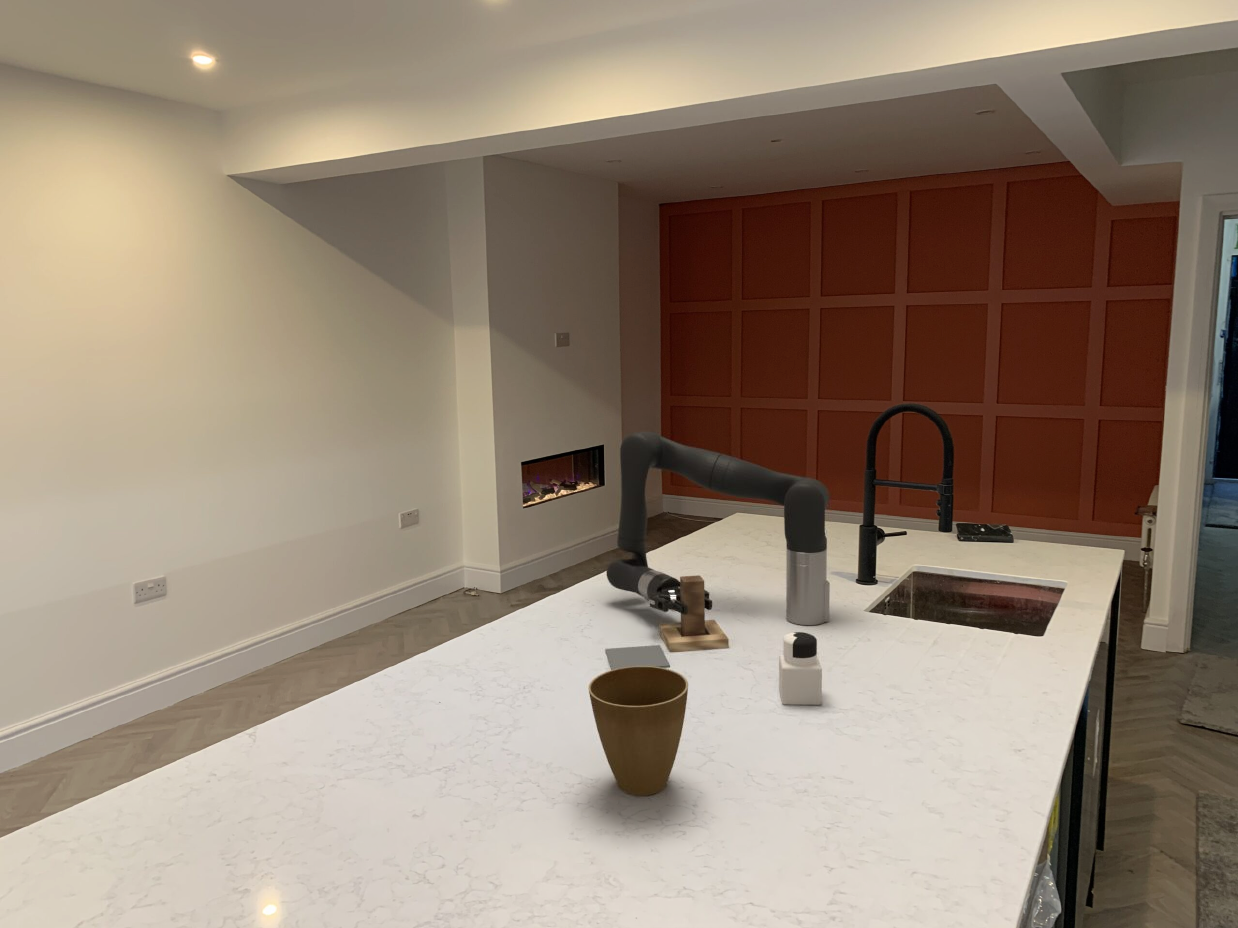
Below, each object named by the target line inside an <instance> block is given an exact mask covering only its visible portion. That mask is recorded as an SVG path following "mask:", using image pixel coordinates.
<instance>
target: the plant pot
mask: <svg viewBox="0 0 1238 928" xmlns="http://www.w3.org/2000/svg"><path fill="white" fill-rule="evenodd" d="M688 691H689V681H688V679H687V678H686V677H685V676H684V674H683V675H682V674H681V673H679V672H678V671H675V670H674V669H669V668H667V667H666V668H661V667H654V666H631V667H623V668H618V669H614V670H611V669H610V670H608V671H605V672H603V673H601V674H599V675H597V676H596V677H594V678H593V679H592V680H591V681H590V683H589V684H588V693H589V694H588V695H589V698H590V704H591V708H592V709H591V710H592V713H593V718H594V721H595V726H596V728H597V729H596V730H597V732H598V737H599V740H600V742H601V746H602V749H603V753H604V754H605V757H606V760H607V762H608V765H609V768H610V770H611V773H612V775H613V777H614V779H615V781H616V784H617V786H618V788H619V789H620V790H621V791H622V792H623V793H626V794H628V795H631V796H635V797H636V796H639V797H641V796H642V797H646V796H651V795H655V794H658V793H660V792H662V791H663V790H664V789H665V788H666V787H667V784H668V781H669V779H670V776H671V773H672V770H673V767H674V764H675V760H676V757H677V754H678V749H679V746H680V741H681V738H682V732H683V727H684V721H685V716H686V708H687V702H688V701H687V700H688V693H689V692H688Z"/></svg>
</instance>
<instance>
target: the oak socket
mask: <svg viewBox="0 0 1238 928" xmlns="http://www.w3.org/2000/svg"><path fill="white" fill-rule="evenodd" d="M658 632H659V634H660V636H661V638H662V640H663V641H664V645H665V646H666V648H667V649H668V652H669V653H675V652H685V651H687V652H690V651H699V650H700V651H701V650H703V651H704V650H712V649H713V650H717V649H728V648H729V647H730V646H729V645H730V644H729V641H730V639H729V637H728V636H727V635H726V634H725V633H726V632H724V630H723V629H722V628H721V627H720V625H719V624H718V623H717V621H716V619H705V635H701V636H686V637H681V621H677V622H675V621H674V622H662V623H661V622H659V623H658Z"/></svg>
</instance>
